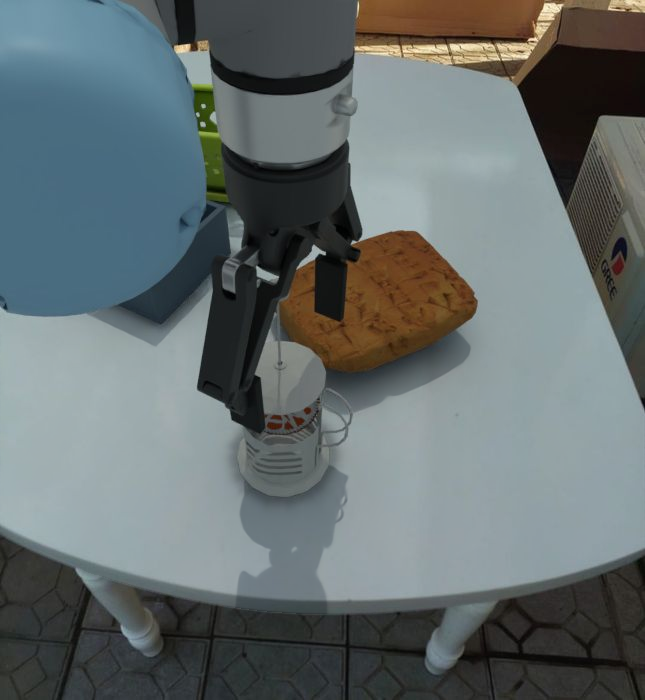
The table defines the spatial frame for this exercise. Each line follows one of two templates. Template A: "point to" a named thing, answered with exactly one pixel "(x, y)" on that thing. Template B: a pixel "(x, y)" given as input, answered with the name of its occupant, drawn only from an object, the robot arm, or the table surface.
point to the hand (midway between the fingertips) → (291, 365)
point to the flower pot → (210, 143)
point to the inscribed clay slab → (381, 304)
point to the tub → (186, 268)
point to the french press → (289, 421)
